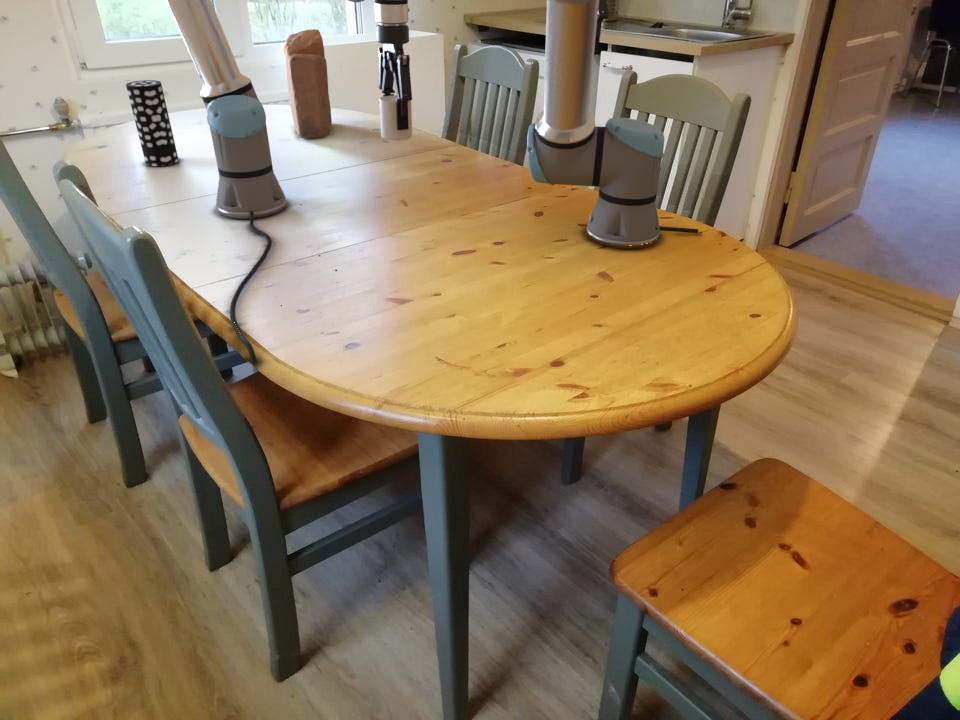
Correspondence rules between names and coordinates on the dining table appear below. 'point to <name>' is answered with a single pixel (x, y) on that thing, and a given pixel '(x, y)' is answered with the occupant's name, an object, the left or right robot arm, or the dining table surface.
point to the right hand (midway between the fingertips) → (576, 49)
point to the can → (393, 119)
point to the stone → (308, 83)
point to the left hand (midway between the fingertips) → (396, 125)
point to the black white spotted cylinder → (152, 122)
